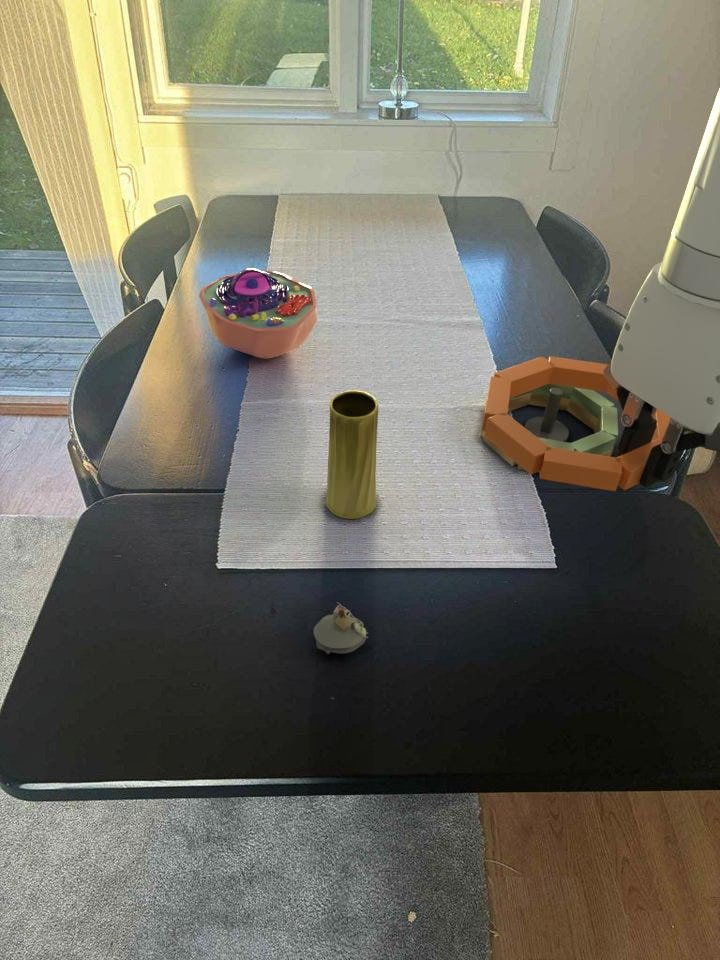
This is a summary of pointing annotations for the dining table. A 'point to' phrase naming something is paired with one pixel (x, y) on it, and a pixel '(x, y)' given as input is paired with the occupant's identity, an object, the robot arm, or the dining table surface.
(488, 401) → the orange ring
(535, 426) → the ring stack
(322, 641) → the figurine
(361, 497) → the vase
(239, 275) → the cell model
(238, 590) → the dining table surface
